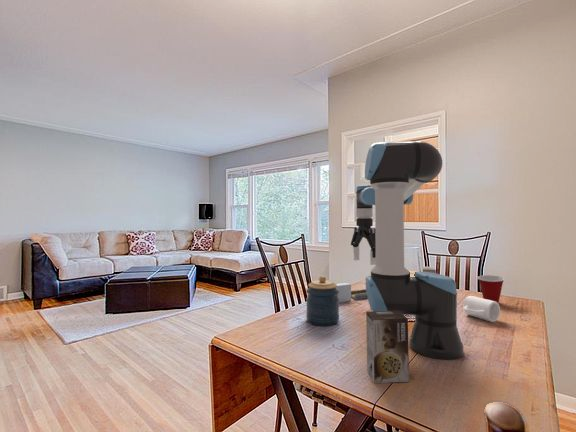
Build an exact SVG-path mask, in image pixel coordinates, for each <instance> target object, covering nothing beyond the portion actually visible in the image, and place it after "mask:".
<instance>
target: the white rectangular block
mask: <svg viewBox="0 0 576 432" xmlns="http://www.w3.org/2000/svg"><path fill="white" fill-rule="evenodd" d="M335 284H336V285H337V287H336V289H337V290H339V293H338V299H339V303H343V302H350V301H352V298H351V291H352V284H351V283H348V282H342V283H335Z"/></svg>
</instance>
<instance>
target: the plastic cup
mask: <svg viewBox="0 0 576 432" xmlns="http://www.w3.org/2000/svg"><path fill="white" fill-rule="evenodd" d="M476 278H477V279H478V281H479V286H480V289H481V294H482V298H483V299H487V300H491V301H495V302H497V303H498V304H499V303H500V298H501V293H502V290H503V289H502V288H503V283H504V281H505V277H502V276H499V275H488V274H487V275H486V274H485V275H484V274H483V275H479V276H477V277H476Z"/></svg>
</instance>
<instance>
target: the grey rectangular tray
mask: <svg viewBox="0 0 576 432" xmlns="http://www.w3.org/2000/svg"><path fill="white" fill-rule="evenodd" d="M351 300H355V301H358V300H368V297H367V292H366V288H365V289H364V288H363V289H357V290H351Z"/></svg>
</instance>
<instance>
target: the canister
mask: <svg viewBox="0 0 576 432" xmlns="http://www.w3.org/2000/svg"><path fill="white" fill-rule="evenodd" d="M336 284H337V283H334V281H332V280H328V279H327V278H326V277H325V275H321V276H320V277H319V278H318V279H316V280H312V281H311V282H310V283H308V288H307V289H305V290H306V291H305V292H306V294H307V297H306V299H305V300H306V301H305V302H306V316H305V317H306V321H307V322H308V323H309V324H311V325H314V326H318V327H319V326H320V327H328V326H334V325H336V324H338V323H339V322H340V321H339V320H340V311H339V307H340V306H339V305H340V302H339V299H338V293H339V290H337V289H336V287H337V285H336Z"/></svg>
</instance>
